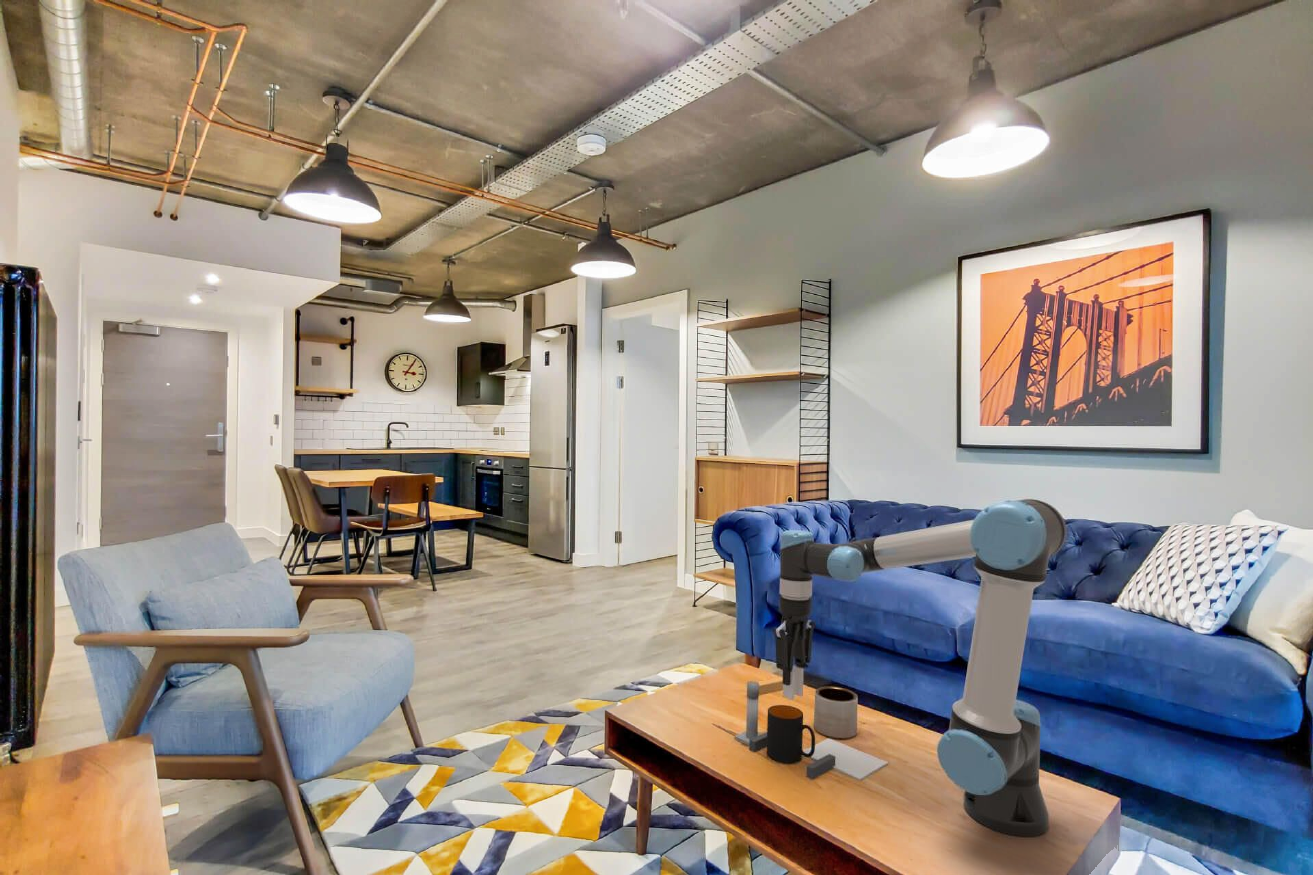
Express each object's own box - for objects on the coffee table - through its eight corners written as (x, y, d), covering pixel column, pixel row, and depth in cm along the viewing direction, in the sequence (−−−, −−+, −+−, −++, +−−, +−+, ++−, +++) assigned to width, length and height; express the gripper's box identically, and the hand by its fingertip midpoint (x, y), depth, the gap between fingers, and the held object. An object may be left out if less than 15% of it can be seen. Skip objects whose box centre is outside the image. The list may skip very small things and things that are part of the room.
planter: (866, 736, 167) (867, 698, 167) (830, 742, 163) (831, 704, 163) (839, 719, 177) (840, 684, 177) (805, 724, 173) (806, 688, 173)
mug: (805, 773, 147) (806, 727, 147) (759, 755, 155) (760, 711, 155) (822, 760, 153) (823, 716, 153) (778, 744, 161) (779, 701, 161)
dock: (835, 766, 150) (836, 720, 150) (812, 779, 144) (813, 731, 144) (754, 730, 168) (755, 689, 168) (730, 740, 162) (731, 697, 162)
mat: (887, 764, 152) (887, 762, 152) (860, 780, 144) (860, 778, 144) (828, 739, 164) (828, 738, 164) (800, 753, 156) (800, 751, 156)
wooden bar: (791, 684, 171) (791, 673, 171) (799, 688, 169) (799, 676, 169) (744, 694, 163) (744, 682, 163) (751, 698, 161) (752, 686, 161)
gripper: (802, 589, 162) (799, 684, 162) (761, 597, 152) (758, 699, 152) (828, 595, 157) (825, 693, 157) (787, 604, 146) (785, 709, 146)
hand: (792, 696), depth 154 cm, fingers open, 3 cm apart
